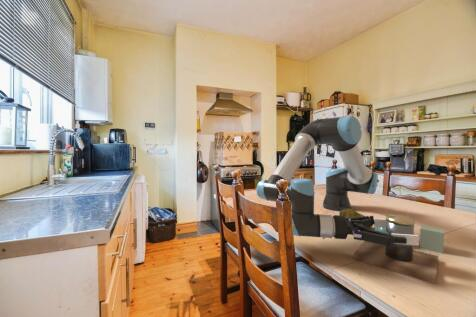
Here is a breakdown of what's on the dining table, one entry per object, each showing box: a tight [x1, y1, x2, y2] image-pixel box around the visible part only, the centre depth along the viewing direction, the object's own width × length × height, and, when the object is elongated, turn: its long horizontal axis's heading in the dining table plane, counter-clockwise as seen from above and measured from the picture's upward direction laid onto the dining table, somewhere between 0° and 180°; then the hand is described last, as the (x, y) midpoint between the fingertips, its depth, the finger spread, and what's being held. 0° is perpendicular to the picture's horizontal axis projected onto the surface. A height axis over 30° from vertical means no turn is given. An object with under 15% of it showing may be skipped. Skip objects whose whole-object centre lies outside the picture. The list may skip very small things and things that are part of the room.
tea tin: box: [385, 213, 416, 262], centre depth 70 cm, size 7×7×12 cm
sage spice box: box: [419, 224, 445, 254], centre depth 78 cm, size 6×5×7 cm
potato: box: [338, 208, 373, 229], centre depth 99 cm, size 8×13×8 cm, turn 52°
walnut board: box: [352, 241, 439, 285], centre depth 71 cm, size 20×16×2 cm
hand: (406, 231), depth 69 cm, fingers open, 13 cm apart
